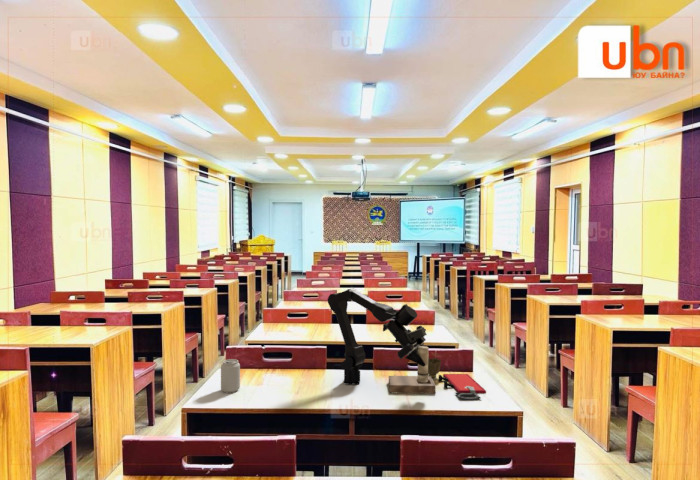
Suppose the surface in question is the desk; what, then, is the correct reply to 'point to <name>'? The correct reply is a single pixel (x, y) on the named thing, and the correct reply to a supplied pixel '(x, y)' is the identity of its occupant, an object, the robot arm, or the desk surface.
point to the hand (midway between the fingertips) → (426, 364)
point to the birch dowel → (422, 370)
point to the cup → (433, 367)
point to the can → (230, 375)
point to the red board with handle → (462, 385)
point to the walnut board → (410, 385)
